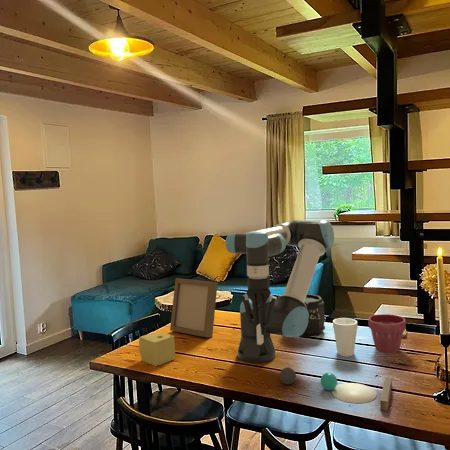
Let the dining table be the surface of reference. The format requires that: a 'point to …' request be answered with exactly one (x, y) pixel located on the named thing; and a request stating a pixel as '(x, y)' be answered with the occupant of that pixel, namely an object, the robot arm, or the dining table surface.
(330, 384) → the object ball
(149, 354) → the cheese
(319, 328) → the black lettered pot
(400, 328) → the plant pot
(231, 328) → the dining table surface
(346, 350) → the foam cup
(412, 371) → the dining table surface
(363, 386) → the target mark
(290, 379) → the gray ball
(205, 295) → the photo frame
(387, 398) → the rail
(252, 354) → the robot arm
